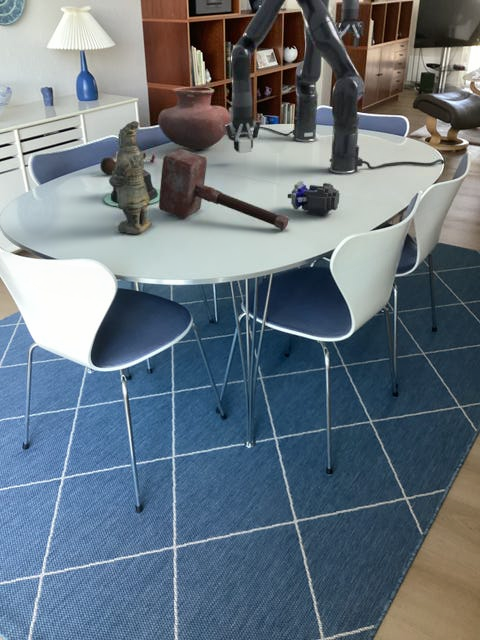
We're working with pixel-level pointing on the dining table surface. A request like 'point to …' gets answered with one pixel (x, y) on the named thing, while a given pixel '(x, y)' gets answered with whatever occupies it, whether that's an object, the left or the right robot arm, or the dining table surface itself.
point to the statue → (131, 182)
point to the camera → (231, 122)
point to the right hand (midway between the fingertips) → (243, 150)
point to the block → (244, 145)
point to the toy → (315, 198)
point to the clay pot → (194, 119)
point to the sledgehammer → (200, 190)
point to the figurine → (109, 163)
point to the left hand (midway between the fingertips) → (347, 47)
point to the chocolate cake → (152, 192)
